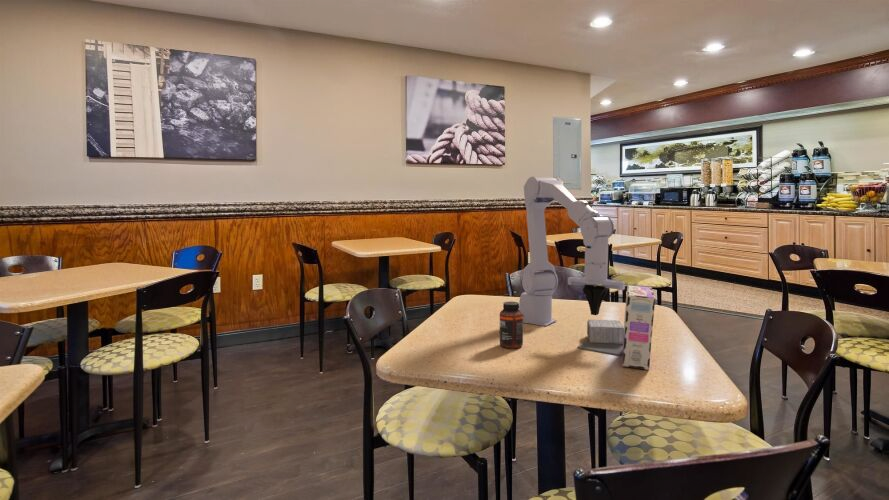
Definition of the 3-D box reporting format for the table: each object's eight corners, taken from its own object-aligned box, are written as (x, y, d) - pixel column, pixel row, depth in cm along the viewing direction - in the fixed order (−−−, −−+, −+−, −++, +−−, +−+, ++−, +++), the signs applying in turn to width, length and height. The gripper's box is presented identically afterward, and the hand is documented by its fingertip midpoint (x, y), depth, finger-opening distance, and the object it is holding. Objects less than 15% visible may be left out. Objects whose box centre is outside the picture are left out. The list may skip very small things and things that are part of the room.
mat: (577, 348, 125) (577, 347, 125) (598, 334, 138) (598, 333, 138) (621, 356, 118) (621, 354, 118) (639, 340, 131) (639, 339, 131)
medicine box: (589, 342, 129) (624, 344, 127) (589, 326, 128) (625, 327, 126) (586, 334, 136) (619, 336, 135) (587, 318, 136) (620, 320, 134)
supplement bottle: (524, 343, 129) (525, 301, 128) (520, 350, 123) (521, 305, 122) (502, 341, 131) (502, 299, 130) (497, 348, 125) (497, 304, 124)
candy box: (650, 371, 108) (655, 297, 106) (621, 367, 110) (626, 294, 108) (647, 352, 121) (652, 286, 119) (622, 348, 123) (626, 283, 121)
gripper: (563, 262, 129) (562, 313, 131) (619, 266, 121) (617, 321, 122) (573, 259, 135) (572, 308, 136) (628, 263, 127) (626, 315, 128)
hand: (594, 314), depth 130 cm, fingers closed
